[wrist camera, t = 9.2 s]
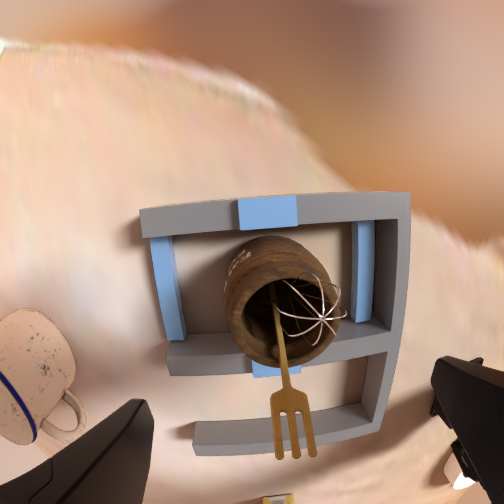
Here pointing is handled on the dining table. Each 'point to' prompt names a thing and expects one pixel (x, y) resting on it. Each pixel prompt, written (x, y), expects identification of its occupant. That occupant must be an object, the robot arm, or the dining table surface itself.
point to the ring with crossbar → (456, 474)
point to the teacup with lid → (35, 378)
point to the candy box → (278, 499)
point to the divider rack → (350, 330)
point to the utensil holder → (282, 320)
